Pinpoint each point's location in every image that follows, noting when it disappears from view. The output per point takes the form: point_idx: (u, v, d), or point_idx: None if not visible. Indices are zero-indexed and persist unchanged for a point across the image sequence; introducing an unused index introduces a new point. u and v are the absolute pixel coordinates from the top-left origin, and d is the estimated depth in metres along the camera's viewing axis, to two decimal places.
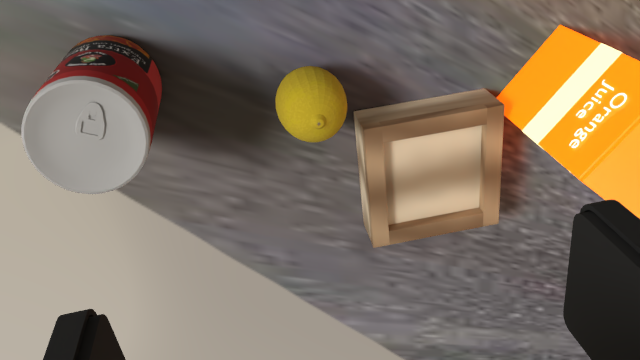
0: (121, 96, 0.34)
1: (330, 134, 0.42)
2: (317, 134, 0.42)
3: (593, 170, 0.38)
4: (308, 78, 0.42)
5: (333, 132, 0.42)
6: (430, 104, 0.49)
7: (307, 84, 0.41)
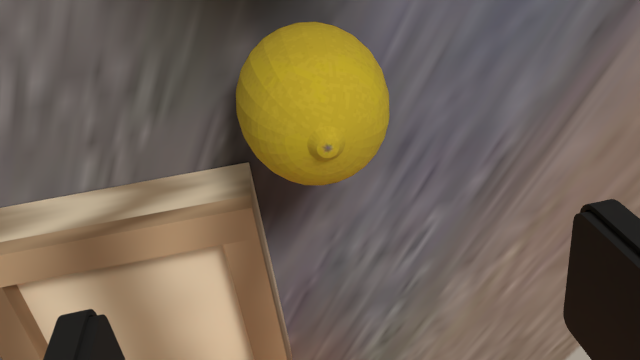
0: None
1: (283, 166, 0.19)
2: (288, 142, 0.18)
3: None
4: (388, 100, 0.20)
5: (285, 171, 0.19)
6: (275, 288, 0.28)
7: (386, 103, 0.19)
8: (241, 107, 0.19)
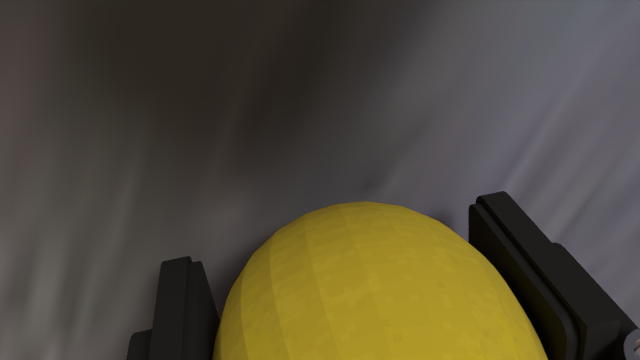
0: None
1: None
2: None
3: None
4: None
5: None
6: None
7: None
8: None
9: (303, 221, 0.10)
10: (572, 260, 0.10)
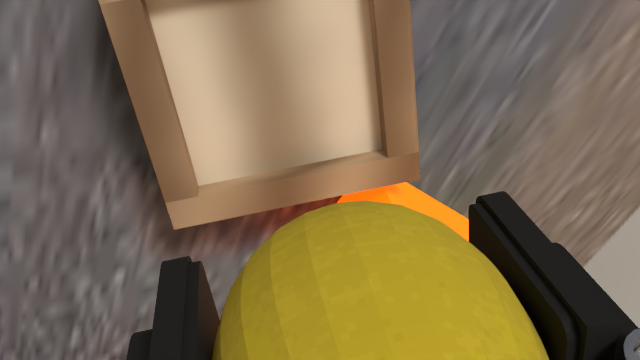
0: None
1: None
2: None
3: None
4: None
5: None
6: None
7: None
8: None
9: (303, 220, 0.10)
10: (572, 260, 0.10)
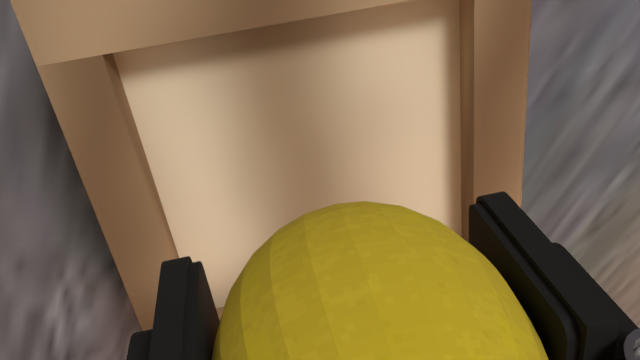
0: None
1: None
2: None
3: None
4: None
5: None
6: None
7: None
8: None
9: (303, 221, 0.10)
10: (572, 260, 0.10)
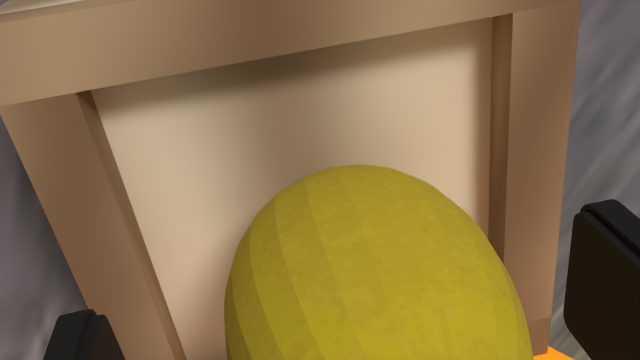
0: None
1: None
2: None
3: None
4: None
5: None
6: None
7: (532, 358, 0.09)
8: None
9: (303, 181, 0.11)
10: None
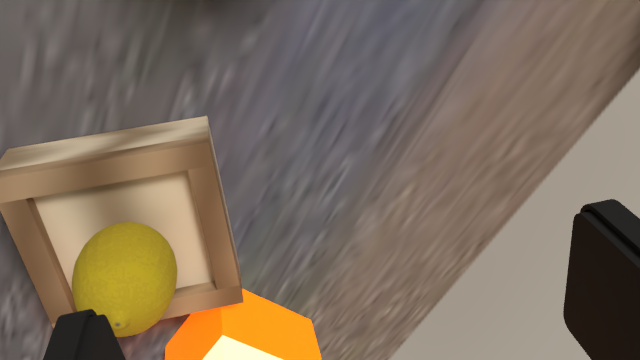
0: None
1: None
2: None
3: None
4: (171, 280, 0.31)
5: None
6: (226, 213, 0.37)
7: (165, 285, 0.30)
8: None
9: (104, 228, 0.32)
10: None
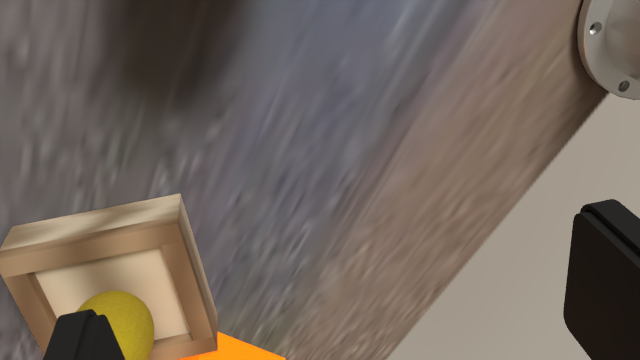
0: None
1: None
2: None
3: None
4: (146, 343, 0.36)
5: None
6: (201, 274, 0.43)
7: (141, 348, 0.36)
8: None
9: (91, 298, 0.37)
10: None
